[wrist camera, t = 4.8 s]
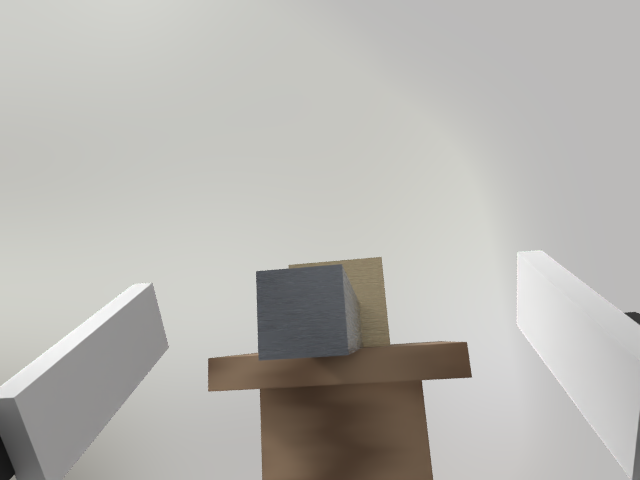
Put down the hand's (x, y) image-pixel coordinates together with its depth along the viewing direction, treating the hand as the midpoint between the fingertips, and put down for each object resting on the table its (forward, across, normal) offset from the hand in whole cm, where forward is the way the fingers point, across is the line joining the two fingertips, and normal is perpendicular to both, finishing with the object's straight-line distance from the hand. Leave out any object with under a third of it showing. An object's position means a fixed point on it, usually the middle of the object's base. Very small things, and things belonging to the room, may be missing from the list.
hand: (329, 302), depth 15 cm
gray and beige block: (+3, 0, -4) cm, 5 cm away
